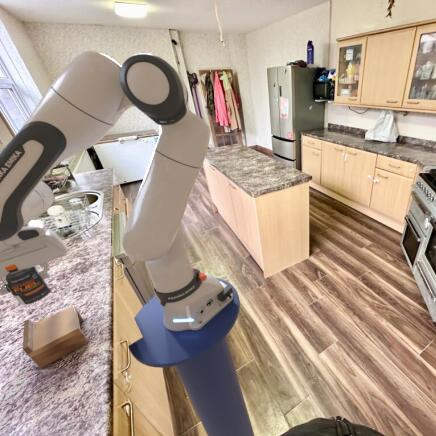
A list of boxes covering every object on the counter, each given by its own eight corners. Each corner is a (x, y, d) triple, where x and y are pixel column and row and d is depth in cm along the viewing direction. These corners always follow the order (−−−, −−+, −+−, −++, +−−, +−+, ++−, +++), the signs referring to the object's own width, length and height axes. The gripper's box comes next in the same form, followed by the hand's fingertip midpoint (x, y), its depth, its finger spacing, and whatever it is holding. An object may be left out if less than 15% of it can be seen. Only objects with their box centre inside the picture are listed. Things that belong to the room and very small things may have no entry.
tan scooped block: (83, 318, 74) (70, 300, 70) (88, 342, 66) (75, 323, 62) (40, 339, 68) (24, 321, 64) (40, 368, 60) (22, 349, 56)
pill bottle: (23, 309, 57) (-7, 273, 52) (17, 300, 60) (-12, 265, 55) (54, 293, 62) (30, 258, 56) (47, 285, 65) (23, 252, 59)
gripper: (-92, 267, 44) (-40, 317, 51) (51, 225, 57) (78, 270, 63) (-81, 254, 49) (-34, 302, 55) (50, 218, 61) (76, 260, 67)
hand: (27, 284), depth 59 cm, fingers closed on pill bottle, 6 cm apart
